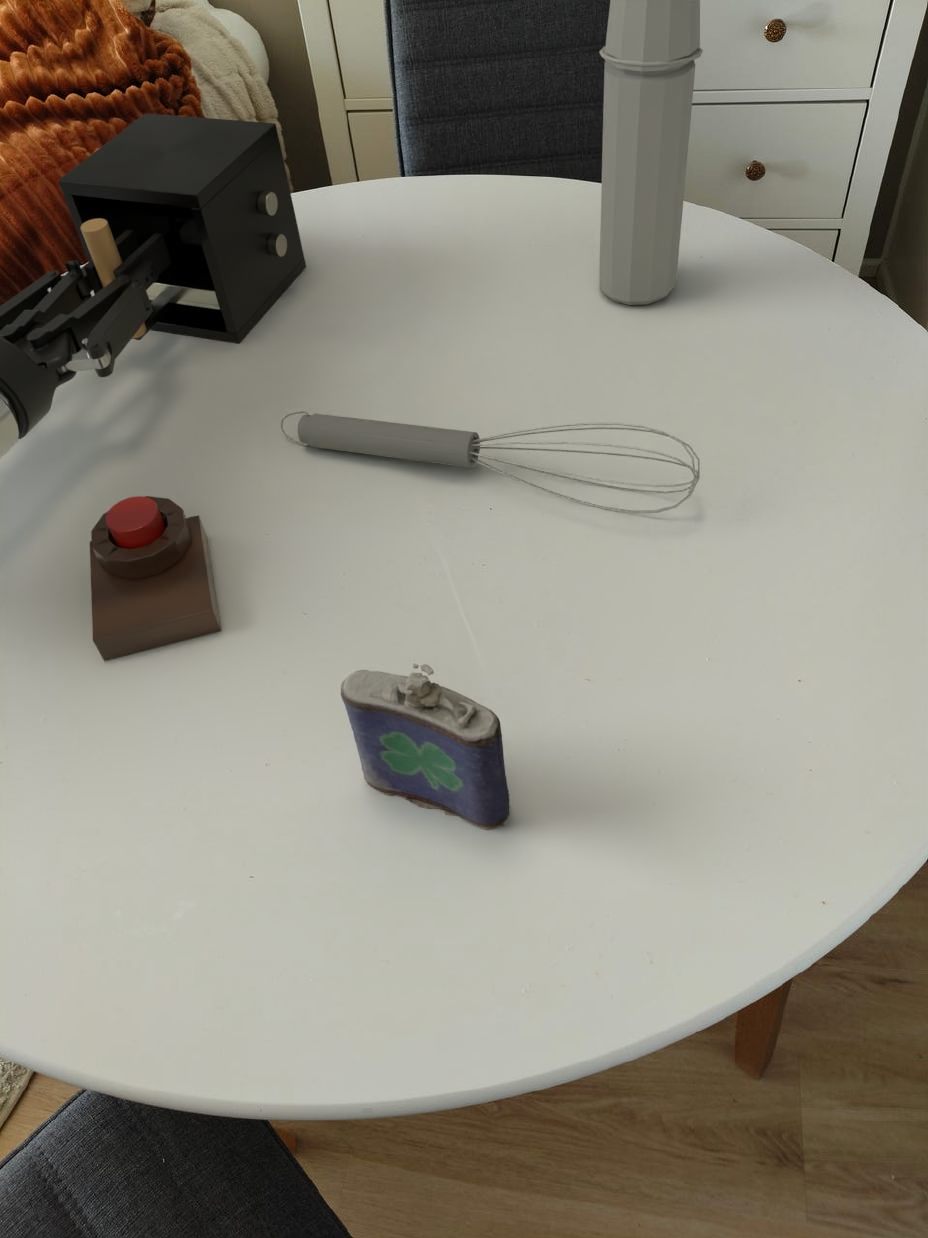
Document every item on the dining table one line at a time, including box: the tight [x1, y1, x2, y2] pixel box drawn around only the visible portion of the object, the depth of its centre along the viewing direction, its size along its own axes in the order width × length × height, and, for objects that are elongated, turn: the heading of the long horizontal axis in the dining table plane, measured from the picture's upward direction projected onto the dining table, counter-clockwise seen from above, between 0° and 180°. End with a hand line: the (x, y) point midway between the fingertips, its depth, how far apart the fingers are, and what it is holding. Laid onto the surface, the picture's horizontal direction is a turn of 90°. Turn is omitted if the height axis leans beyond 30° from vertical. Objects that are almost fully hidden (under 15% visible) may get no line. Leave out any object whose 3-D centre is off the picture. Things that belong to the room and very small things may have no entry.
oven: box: [57, 112, 307, 344], centre depth 92 cm, size 15×14×14 cm
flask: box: [340, 663, 511, 830], centre depth 54 cm, size 9×3×11 cm, turn 65°
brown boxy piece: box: [89, 495, 222, 662], centre depth 70 cm, size 11×8×4 cm
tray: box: [81, 216, 221, 341], centre depth 89 cm, size 11×19×10 cm, turn 160°
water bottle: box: [598, 0, 704, 306], centre depth 84 cm, size 9×8×25 cm
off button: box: [106, 495, 165, 549], centre depth 69 cm, size 4×4×2 cm
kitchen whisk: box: [280, 410, 701, 514], centre depth 74 cm, size 6×34×6 cm, turn 69°
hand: (149, 246), depth 87 cm, fingers closed on tray, 2 cm apart
